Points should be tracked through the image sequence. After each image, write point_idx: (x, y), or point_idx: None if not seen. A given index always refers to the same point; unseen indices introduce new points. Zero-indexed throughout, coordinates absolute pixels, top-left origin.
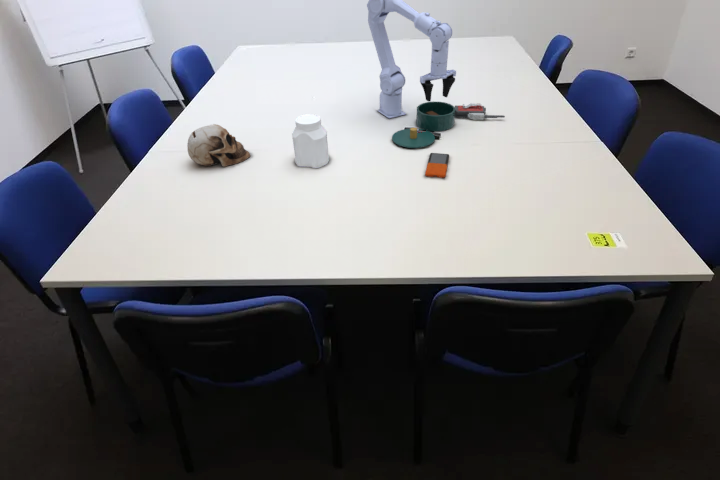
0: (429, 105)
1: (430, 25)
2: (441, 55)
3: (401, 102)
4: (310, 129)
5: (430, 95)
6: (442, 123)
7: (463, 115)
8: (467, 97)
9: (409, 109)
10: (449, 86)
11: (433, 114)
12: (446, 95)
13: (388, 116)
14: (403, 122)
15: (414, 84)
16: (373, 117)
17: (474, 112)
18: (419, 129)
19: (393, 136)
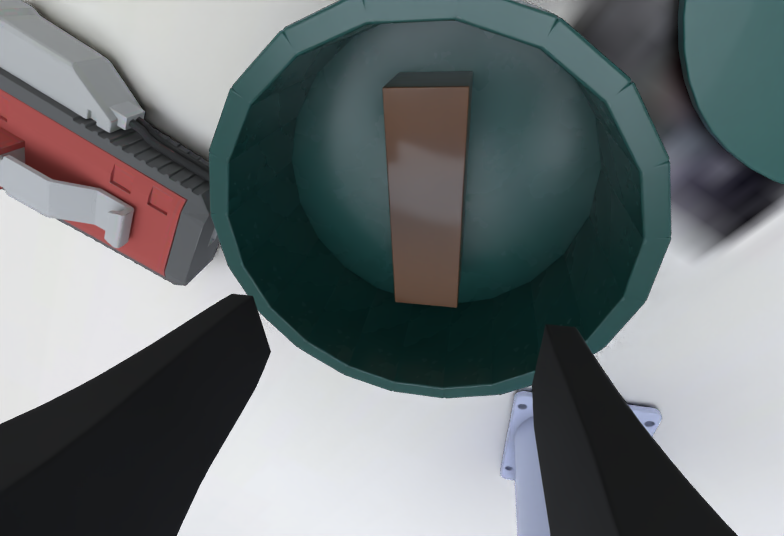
0: (389, 357)
1: None
2: None
3: (542, 485)
4: None
5: (596, 403)
6: None
7: (168, 145)
8: (91, 353)
9: (444, 418)
10: (74, 420)
11: (430, 241)
12: (233, 310)
13: (646, 425)
14: (626, 324)
15: (278, 525)
16: (714, 463)
17: (58, 105)
18: (720, 103)
19: None
